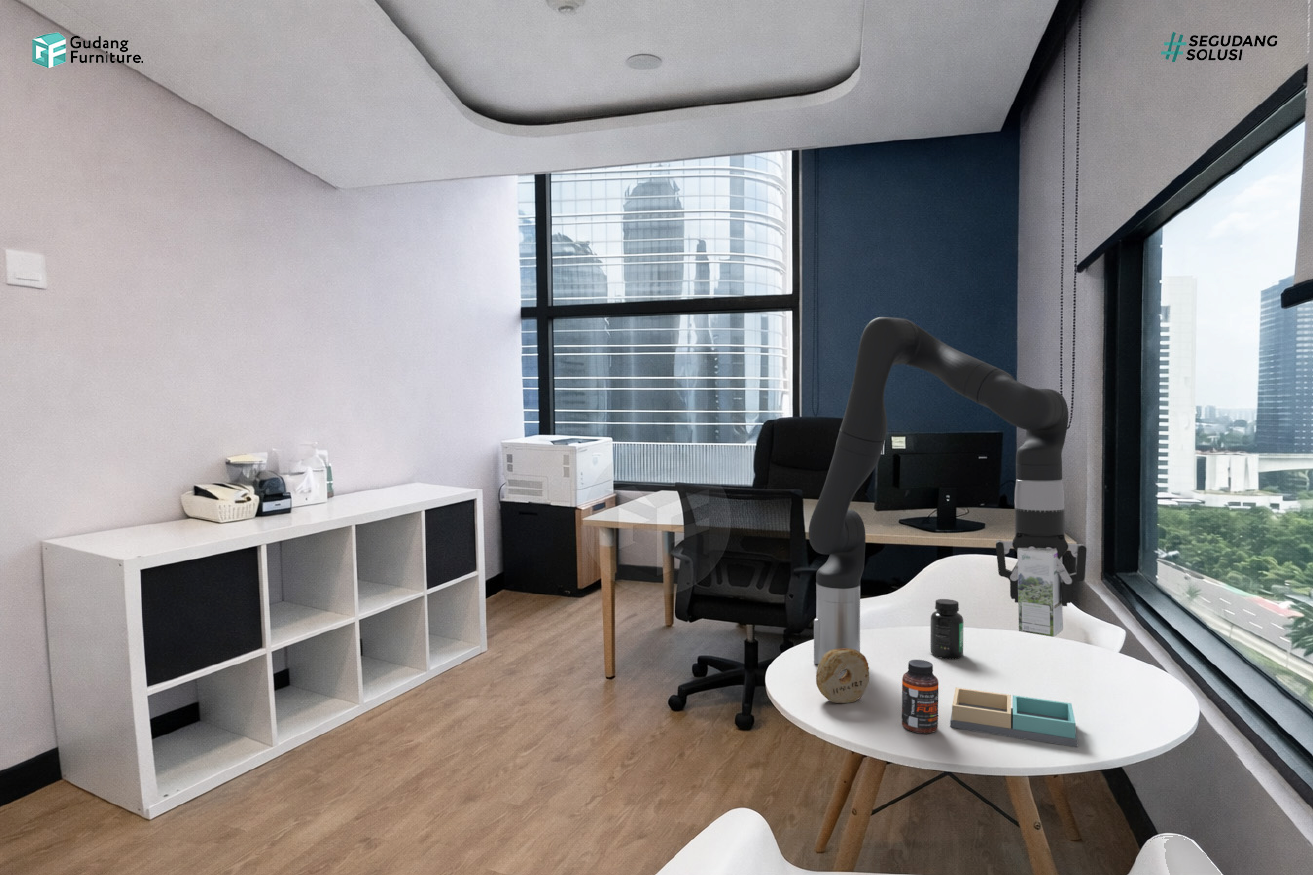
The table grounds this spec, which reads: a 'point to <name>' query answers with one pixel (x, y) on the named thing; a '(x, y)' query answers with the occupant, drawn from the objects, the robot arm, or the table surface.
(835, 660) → the stone disc
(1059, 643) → the table surface
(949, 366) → the robot arm
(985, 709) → the teal and wood tray
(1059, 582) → the syrup box
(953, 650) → the supplement bottle
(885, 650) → the table surface
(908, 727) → the supplement bottle
